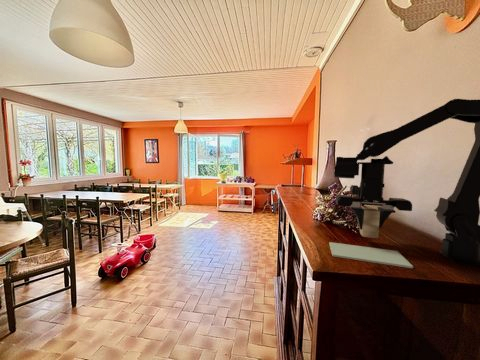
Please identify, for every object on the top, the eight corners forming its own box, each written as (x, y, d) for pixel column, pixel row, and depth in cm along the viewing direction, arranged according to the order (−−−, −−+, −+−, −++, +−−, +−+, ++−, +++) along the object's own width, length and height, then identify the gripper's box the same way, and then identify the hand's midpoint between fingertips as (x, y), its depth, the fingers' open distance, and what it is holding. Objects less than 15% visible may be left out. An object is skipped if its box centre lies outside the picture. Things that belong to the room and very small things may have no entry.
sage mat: (397, 252, 54) (397, 251, 54) (413, 268, 46) (413, 266, 46) (329, 243, 60) (329, 242, 60) (332, 256, 52) (332, 254, 52)
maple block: (374, 234, 63) (375, 208, 62) (378, 238, 59) (379, 211, 58) (359, 232, 64) (361, 207, 63) (362, 236, 60) (364, 210, 60)
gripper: (398, 179, 65) (394, 226, 66) (334, 177, 71) (332, 220, 72) (415, 181, 54) (410, 237, 55) (339, 178, 60) (336, 229, 61)
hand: (368, 230), depth 61 cm, fingers closed on maple block, 4 cm apart
